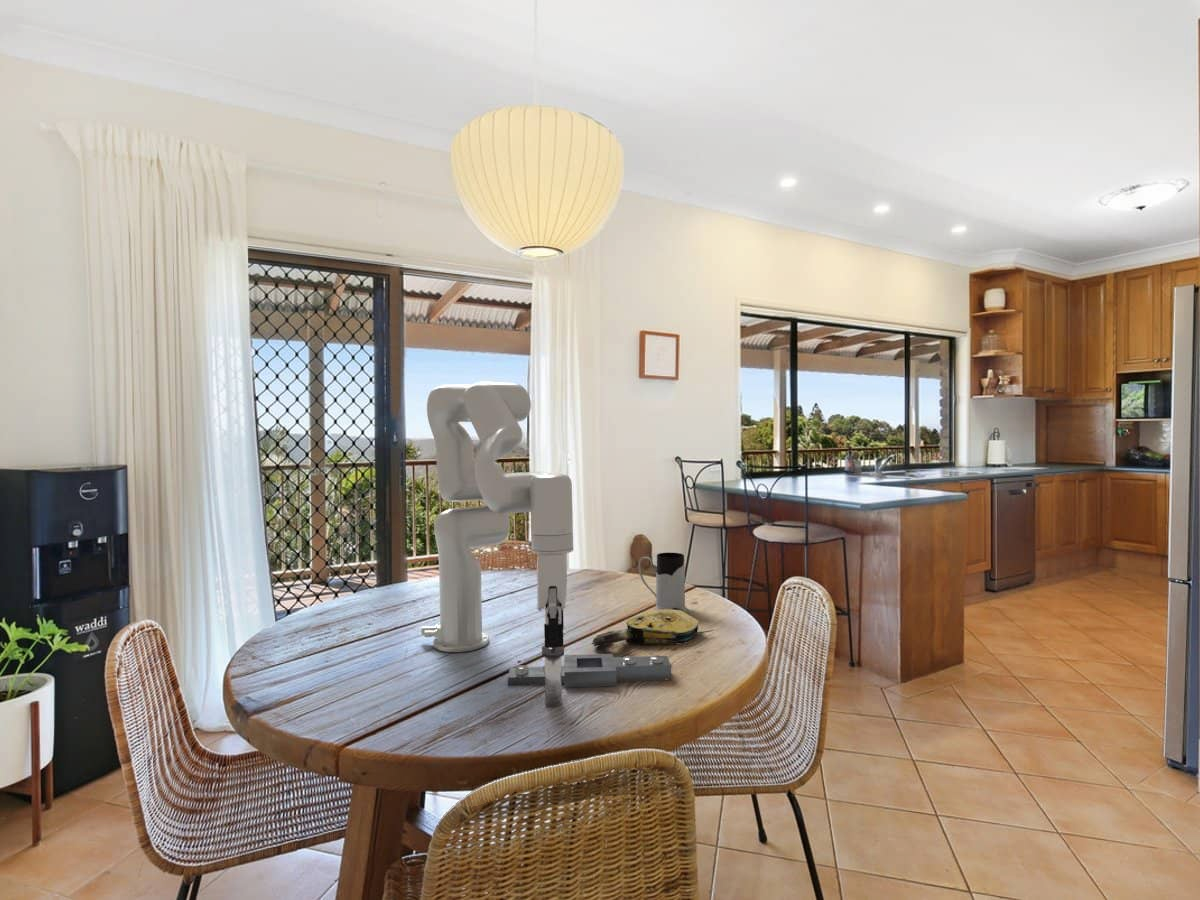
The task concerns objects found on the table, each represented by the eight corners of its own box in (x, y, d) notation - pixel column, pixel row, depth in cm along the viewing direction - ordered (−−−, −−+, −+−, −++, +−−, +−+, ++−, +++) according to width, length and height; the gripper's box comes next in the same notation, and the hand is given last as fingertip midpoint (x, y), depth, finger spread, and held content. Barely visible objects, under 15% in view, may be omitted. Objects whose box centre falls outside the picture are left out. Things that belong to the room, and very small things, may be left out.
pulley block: (579, 615, 143) (682, 597, 158) (577, 638, 144) (680, 618, 159) (609, 642, 131) (718, 620, 146) (607, 667, 132) (715, 643, 147)
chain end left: (506, 689, 117) (506, 677, 117) (511, 671, 126) (510, 659, 126) (616, 686, 118) (616, 673, 118) (612, 668, 127) (612, 656, 127)
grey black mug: (678, 615, 163) (678, 559, 163) (631, 607, 171) (631, 554, 170) (691, 607, 171) (691, 553, 170) (646, 600, 178) (645, 549, 178)
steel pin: (542, 708, 109) (541, 651, 109) (542, 698, 113) (542, 643, 113) (564, 707, 109) (564, 651, 109) (564, 697, 113) (564, 643, 113)
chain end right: (564, 687, 118) (564, 669, 118) (564, 669, 127) (564, 652, 127) (672, 684, 119) (672, 665, 119) (665, 666, 128) (665, 649, 128)
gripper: (533, 536, 119) (536, 624, 119) (528, 552, 101) (531, 655, 101) (572, 535, 119) (574, 623, 119) (573, 550, 102) (576, 653, 102)
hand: (554, 637), depth 110 cm, fingers open, 9 cm apart
